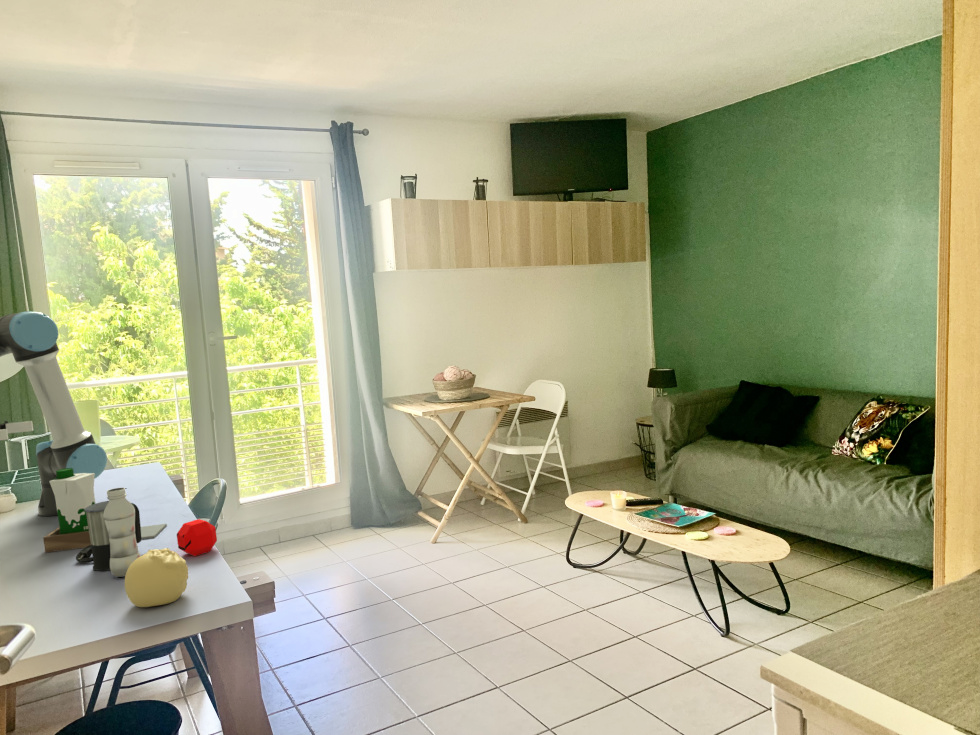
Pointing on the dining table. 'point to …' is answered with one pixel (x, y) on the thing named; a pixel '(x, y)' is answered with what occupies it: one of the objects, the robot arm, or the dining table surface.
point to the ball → (196, 537)
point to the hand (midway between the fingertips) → (20, 429)
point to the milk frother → (101, 537)
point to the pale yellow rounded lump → (156, 578)
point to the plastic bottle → (120, 531)
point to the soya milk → (73, 499)
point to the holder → (65, 541)
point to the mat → (151, 531)
